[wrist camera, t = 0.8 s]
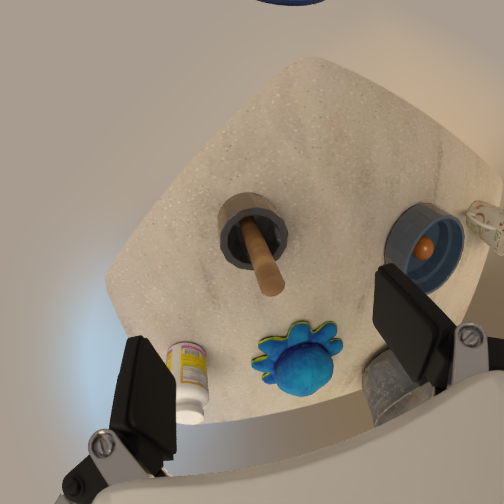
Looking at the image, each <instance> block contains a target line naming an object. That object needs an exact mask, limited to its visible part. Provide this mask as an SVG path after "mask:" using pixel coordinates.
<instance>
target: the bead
mask: <svg viewBox="0 0 504 504" xmlns="http://www.w3.org/2000/svg"><path fill="white" fill-rule="evenodd" d="M433 251H434V244H433V242H432V240H431V239H430V238H429V237H427V236H423V235H422V237H421V238H420V239H419V241H418V242H417V244H416V245H415V247H414V249H413V252H412V253H413V255H414V256H415V257H416V258H417V259H419V260H426V259H428V258H430V257H431V256H432V254H433Z"/></svg>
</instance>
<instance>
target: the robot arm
mask: <svg viewBox="0 0 504 504" xmlns="http://www.w3.org/2000/svg"><path fill="white" fill-rule="evenodd" d="M373 324H374V326H375V328H376V329H377V330H378V332H379V333H380V335H381V336H382V338H383V339H384V340H385V342H386V343H387V345H388V346H389V348H390V349H391V350H392V352H393V353H394V355H395V356H396V358H397V359H398V361H399V362H400V364H401V365H402V367H403V368H404V370H405V371H406V373H407V374H408V376H409V377H410V379H411V380H412V381H413V382H417V384H418V385H419V387H420V386H422V385H424V384H426V383H427V382H430V384H431V385H432V392H431V398H430V400H428V401H426V402H424V403H423V404H421V405H419V406H417V407H415V408H414V409H412V410H410V411H408V412H406V413H404V414H402V415H400V416H398V417H396V418H394V419H392V420H390V421H388V422H386V423H384V424H382V425H380V426H378V427H376V428H373V429H371V430H369V431H367V432H365V433H362V434H360V435H357V436H355V437H352V438H350V439H347V440H344V441H342V442H340V443H336V444H334V445H331V446H328V447H325V448H322V449H319V450H316V451H313V452H310V453H306V454H303V455H300V456H296V457H293V458H289V459H285V460H281V461H277V462H273V463H269V464H264V465H259V466H254V467H249V468H244V469H238V470H232V471H225V472H218V473H209V474H199V475H188V476H176V477H175V476H174V477H172V476H171V475H170V474H169V473H168V472H167V471H166V470H165V469H164V468H163V461H169V460H173V454H175V453H176V451H177V445H176V380H175V377H174V376H173V374H172V373H171V372H170V370H169V369H168V367H167V366H166V365H165V363H164V362H163V360H162V359H161V357H160V356H159V355H158V353H157V352H156V350H155V349H154V347H153V346H152V344H151V343H150V341H149V340H148V339H147V338H144V337H143V336H141V335H140V336H135V337H130V338H128V339H127V342H126V346H125V350H124V355H123V359H122V364H121V369H120V373H119V375H118V379H117V384H116V389H115V394H114V400H113V406H112V412H111V418H110V425H109V429H101V430H98V431H96V432H95V433H94V434H93V435H92V436H91V438H90V440H89V443H88V451H89V455H88V456H87V457H86V458H85V459H84V460H83V461H82V462H81V463H79V464H78V465H77V466H76V467H75V468H74V469H73V470H71V471H70V472H69V473H68V474H67V475H66V476H65V478H64V480H63V483H62V489H63V492H64V495H61V494H60V495H59V497H58V499H57V501H56V502H55V504H504V339H499V338H492V337H487V335H486V332H485V331H484V329H483V328H482V327H481V326H480V325H479V324H477V323H474V322H463V323H461V324H460V325H458V326H456V325H455V324H454V323H453V322H452V321H451V320H450V319H449V317H448V316H447V315H446V314H445V313H444V312H443V311H442V310H441V309H440V308H439V307H438V306H437V305H436V304H435V303H434V302H433V301H432V300H431V299H430V298H429V297H428V296H427V295H426V294H425V293H424V292H423V291H422V290H421V289H420V288H419V287H418V286H417V285H416V284H415V283H414V282H413V281H412V280H411V279H410V278H409V277H408V276H407V275H406V274H405V273H403V272H402V271H401V270H400V269H399V268H398V267H397V266H396V265H395V264H394V263H388V264H385V265H382V266H380V267H379V268H378V271H377V272H376V273H375V290H374V306H373Z"/></svg>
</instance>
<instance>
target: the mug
mask: <svg viewBox="0 0 504 504" xmlns="http://www.w3.org/2000/svg"><path fill="white" fill-rule="evenodd" d="M466 217H467V225H468V227H469V228H470V229H471V230H472V231H474V232H475V233H476V234H477V235H478V236H479V237H480V238H481V239H483V240H484V241H485V242H486V243H487V244H488V245H489V246H490V247H491V248H492V249H493V250H494V251H495V252H496V253H497V254H499V255H500V256H503V255H504V209H501V208H499V207H496V206H493V205H490V204H487V203H484V202H481V201H475V202H474V203H473V204H472V205H471V206H470V208H469V211H468V212H467V213H466Z"/></svg>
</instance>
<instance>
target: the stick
mask: <svg viewBox="0 0 504 504" xmlns="http://www.w3.org/2000/svg"><path fill="white" fill-rule="evenodd" d="M239 225H240V228H241V231H242V234H243V237H244V240H245V244H246V247H247V250H248V253H249V256H250V259H251V262H252V265H253V268H254V271H255V275H256V278H257V281H258V284H259V287H260V290H261V292H262V293H263V294H264V295H266V296H276V295H278V294H280V293H281V292H282V291H283V289H284V287H285V282H284V279H283V277H282V275H281V273H280V271H279V269H278V267H277V265H276V262H275V260H274V258H273V256H272V254H271V252H270V250H269V248H268V246H267V243H266V241H265V239H264V237H263V235H262V233H261V231H260V229H259V227H258V225H257V223H256V220H255V218H254V217H253V216H247V217H244V218H242V219H241V220H240V221H239Z"/></svg>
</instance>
